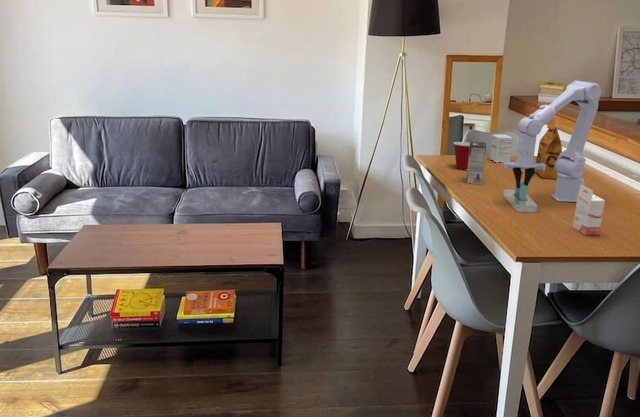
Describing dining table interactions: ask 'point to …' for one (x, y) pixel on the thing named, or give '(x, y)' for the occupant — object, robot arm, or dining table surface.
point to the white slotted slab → (520, 202)
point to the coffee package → (549, 152)
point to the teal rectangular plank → (521, 191)
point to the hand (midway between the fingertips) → (521, 187)
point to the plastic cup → (462, 154)
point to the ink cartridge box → (588, 212)
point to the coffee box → (476, 162)
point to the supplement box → (501, 148)
